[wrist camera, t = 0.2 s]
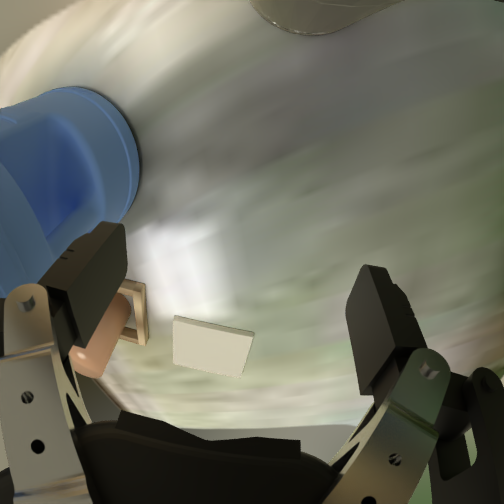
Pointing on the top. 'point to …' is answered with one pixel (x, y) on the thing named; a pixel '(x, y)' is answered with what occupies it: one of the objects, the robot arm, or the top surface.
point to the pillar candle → (102, 339)
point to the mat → (210, 347)
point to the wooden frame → (136, 312)
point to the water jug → (59, 177)
